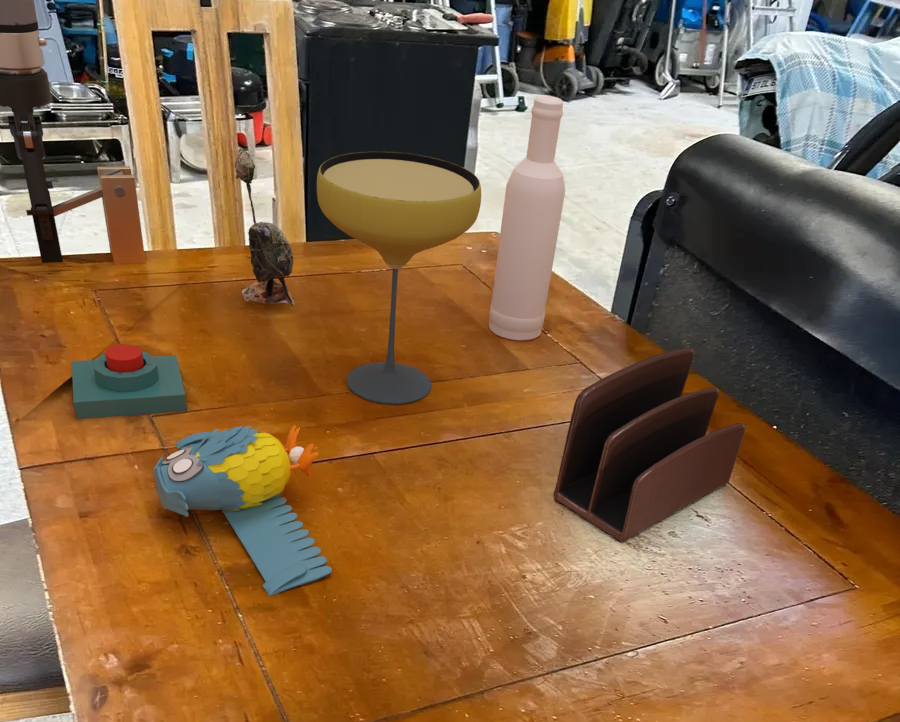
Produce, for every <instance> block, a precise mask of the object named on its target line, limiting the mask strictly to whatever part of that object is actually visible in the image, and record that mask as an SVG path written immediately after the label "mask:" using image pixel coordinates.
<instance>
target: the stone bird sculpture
mask: <svg viewBox="0 0 900 722" xmlns="http://www.w3.org/2000/svg"><path fill="white" fill-rule="evenodd" d="M234 168H235V173H236V176H235V177H234V178H235V179H236V180H238V179H240V180H241V181H242V182H243V183H245V184H246V189H247V194H248V199H249V202H250V207H251V213H252V222H253V224H252V225H251V226H250V227H249V228H248V232H247V234H248V247H249V250H250V264H251V266H252V272H253V275H254V276H255V279H256V280H255V281H254V282H252V283H250V284H249V285H247V286H246V287H242V288H240V291H241V295H242V296H243V298H244V299H243V301H245V302H258V303H262V304H269V305H274V304H282V303H286V304H290V305H291V306H294V305H295V304H296V303H295V298H294V297H292V296H291V295H292V292H291V293H290V292H289V289H288V287H289V286H288V285H287V283H286V280H285V277H289V276H290V275H291V274H292V273H293V267H294V255H293V253H294V252H293V249H292V245H291V243H290V241H289V240H288V239H287V237H286V236H285V234H284V232H283V231H282V230H281V229H280V228H279V226H277V225H276V224H275V223H273V222H265V221H264V222H263V221H259V222H257V220H256V215H255V213H256V212H255V208H254V203H253V200H252V194H251V193H252V186H251V184H252V181H253V179H254V175H255V169H256V165H255V163H254V160H253V158H252V156H251V154H250V153H249V152H247V151H246V150H241V151H240V152H239V154H238V156H237V159H236V161H235V162H234ZM276 279H277V280H278V281H277V280H276ZM249 305H250V306H251V304H249ZM261 308H263V309H264V307H263V306H260V309H261Z"/></svg>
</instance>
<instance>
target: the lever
mask: <svg viewBox="0 0 900 722" xmlns="http://www.w3.org/2000/svg"><path fill="white" fill-rule="evenodd" d="M113 175H124V174H123V172H122V171H120V172H118V173H115V174H113ZM102 197H103V192H102V187H100V186H99V187H97V188H95V189H92V190H89V191H87V192H85V193H82V194H79V195H77V196H75V197H73V198H70V199H67V200H64V201H63V202H60V203H58V204H55V205H52V207H53V212H54V217H57V216H59V215H62V214H64V213H67V212H69V211H72V210H74V209H76V208H79V207H82V206H84V205H87V204H89V203H91V202H94V201H97V200H99V199H102ZM39 205H43V204H39Z"/></svg>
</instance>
